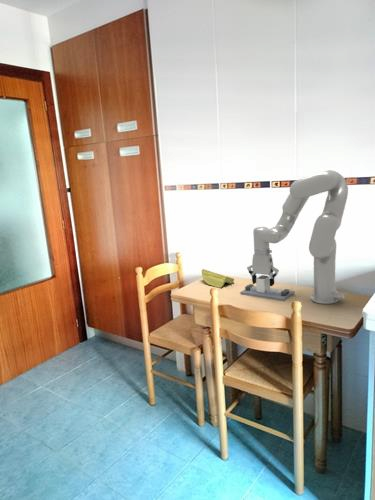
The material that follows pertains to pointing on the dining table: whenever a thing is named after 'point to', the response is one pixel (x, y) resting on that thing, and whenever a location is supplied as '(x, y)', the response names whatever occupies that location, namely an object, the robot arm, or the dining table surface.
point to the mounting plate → (267, 295)
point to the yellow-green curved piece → (215, 278)
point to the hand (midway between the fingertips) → (263, 284)
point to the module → (262, 283)
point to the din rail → (268, 290)
